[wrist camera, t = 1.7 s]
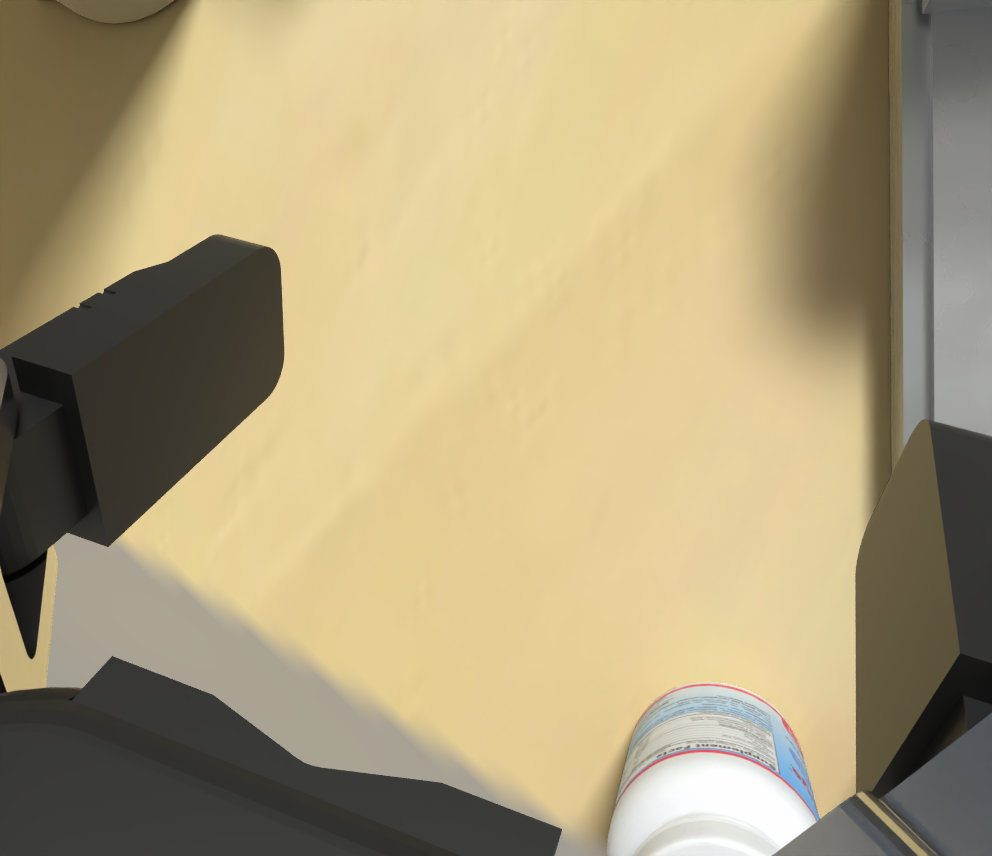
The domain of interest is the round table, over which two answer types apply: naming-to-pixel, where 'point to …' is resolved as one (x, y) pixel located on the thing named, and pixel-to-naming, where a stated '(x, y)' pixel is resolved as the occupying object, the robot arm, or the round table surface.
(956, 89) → the rail
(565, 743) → the round table surface
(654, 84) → the round table surface
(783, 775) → the pill bottle
